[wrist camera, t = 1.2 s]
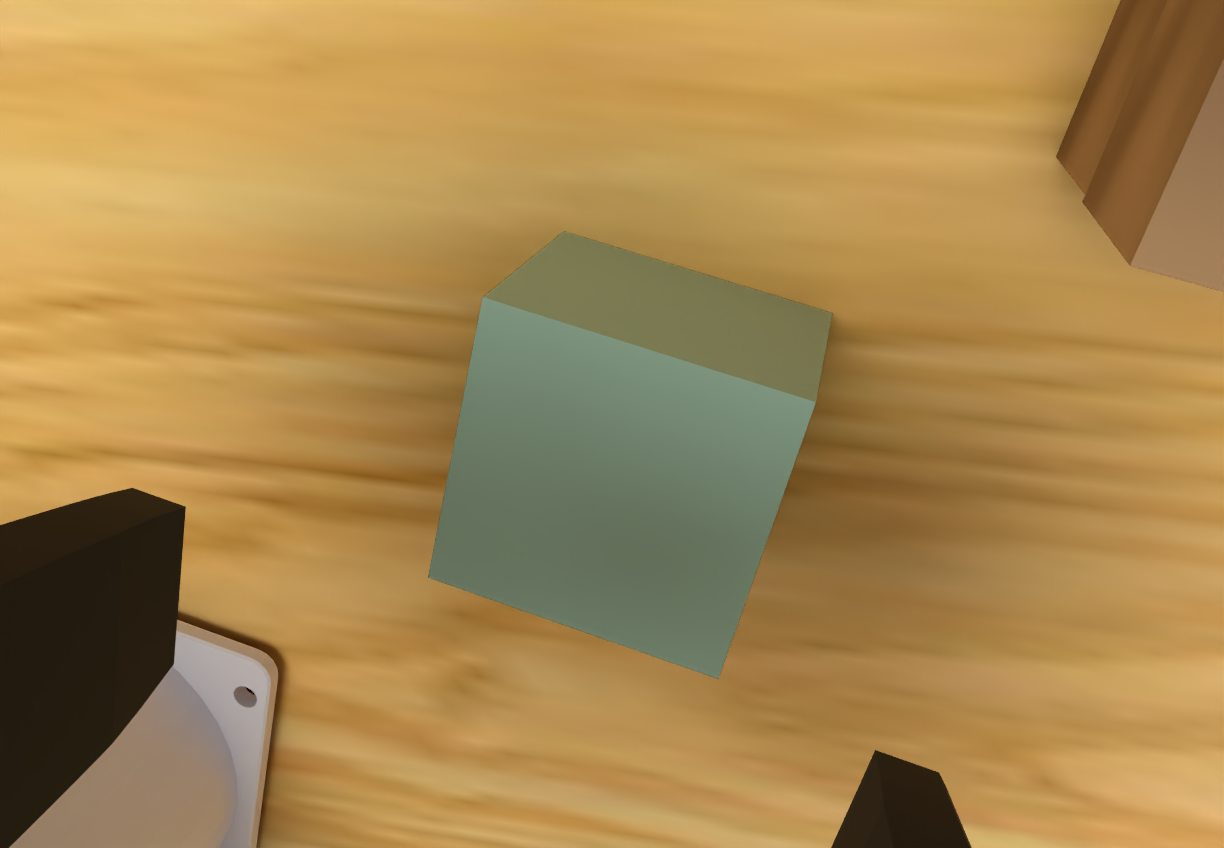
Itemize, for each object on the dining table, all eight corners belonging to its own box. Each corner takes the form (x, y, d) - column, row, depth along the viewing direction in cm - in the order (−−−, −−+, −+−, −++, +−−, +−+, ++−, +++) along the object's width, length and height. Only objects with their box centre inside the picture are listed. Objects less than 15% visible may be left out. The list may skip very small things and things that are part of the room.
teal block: (751, 545, 19) (718, 679, 16) (512, 466, 20) (427, 577, 16) (833, 310, 17) (815, 402, 14) (566, 229, 18) (482, 297, 14)
